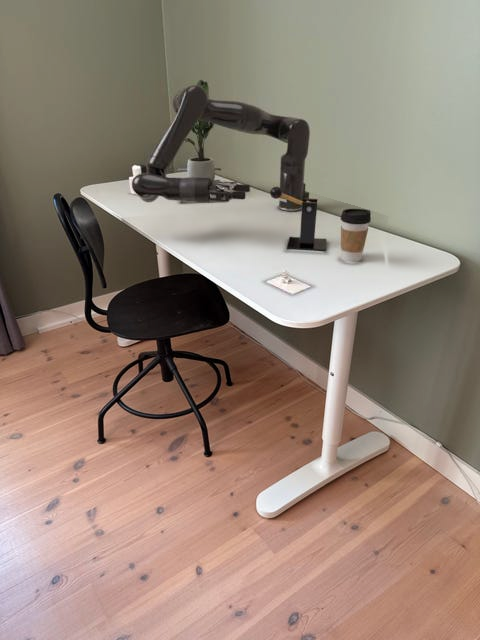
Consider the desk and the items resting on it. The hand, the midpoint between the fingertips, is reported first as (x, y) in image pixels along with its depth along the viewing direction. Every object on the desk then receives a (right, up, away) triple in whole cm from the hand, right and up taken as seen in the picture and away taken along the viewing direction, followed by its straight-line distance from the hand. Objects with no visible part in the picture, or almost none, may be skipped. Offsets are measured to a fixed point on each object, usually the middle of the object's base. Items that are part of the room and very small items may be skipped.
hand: (247, 191), depth 146 cm
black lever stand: (+19, -16, +5) cm, 25 cm away
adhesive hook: (+11, -30, -19) cm, 37 cm away
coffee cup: (+31, -22, -5) cm, 38 cm away
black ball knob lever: (+13, -4, 0) cm, 14 cm away
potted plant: (-19, +14, +60) cm, 64 cm away
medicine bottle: (-46, +16, +64) cm, 80 cm away
